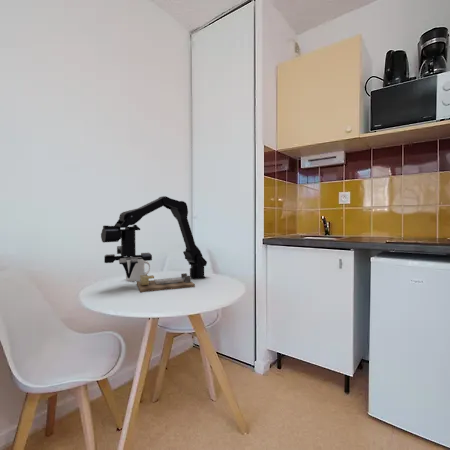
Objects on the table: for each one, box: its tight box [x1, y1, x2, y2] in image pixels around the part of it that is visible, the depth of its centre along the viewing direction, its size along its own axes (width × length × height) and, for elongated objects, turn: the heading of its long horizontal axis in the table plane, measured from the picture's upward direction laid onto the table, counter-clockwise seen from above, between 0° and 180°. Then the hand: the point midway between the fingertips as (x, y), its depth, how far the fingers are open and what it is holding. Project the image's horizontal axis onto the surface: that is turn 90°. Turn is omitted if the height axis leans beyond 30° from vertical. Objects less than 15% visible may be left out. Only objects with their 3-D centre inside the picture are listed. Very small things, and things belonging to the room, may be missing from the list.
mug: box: [125, 259, 151, 282], centre depth 137 cm, size 9×12×11 cm
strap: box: [154, 276, 185, 284], centre depth 125 cm, size 14×4×1 cm, turn 113°
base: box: [136, 272, 196, 293], centre depth 124 cm, size 23×15×4 cm, turn 113°
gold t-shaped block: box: [140, 274, 155, 285], centre depth 121 cm, size 6×5×3 cm
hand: (128, 277), depth 118 cm, fingers closed
